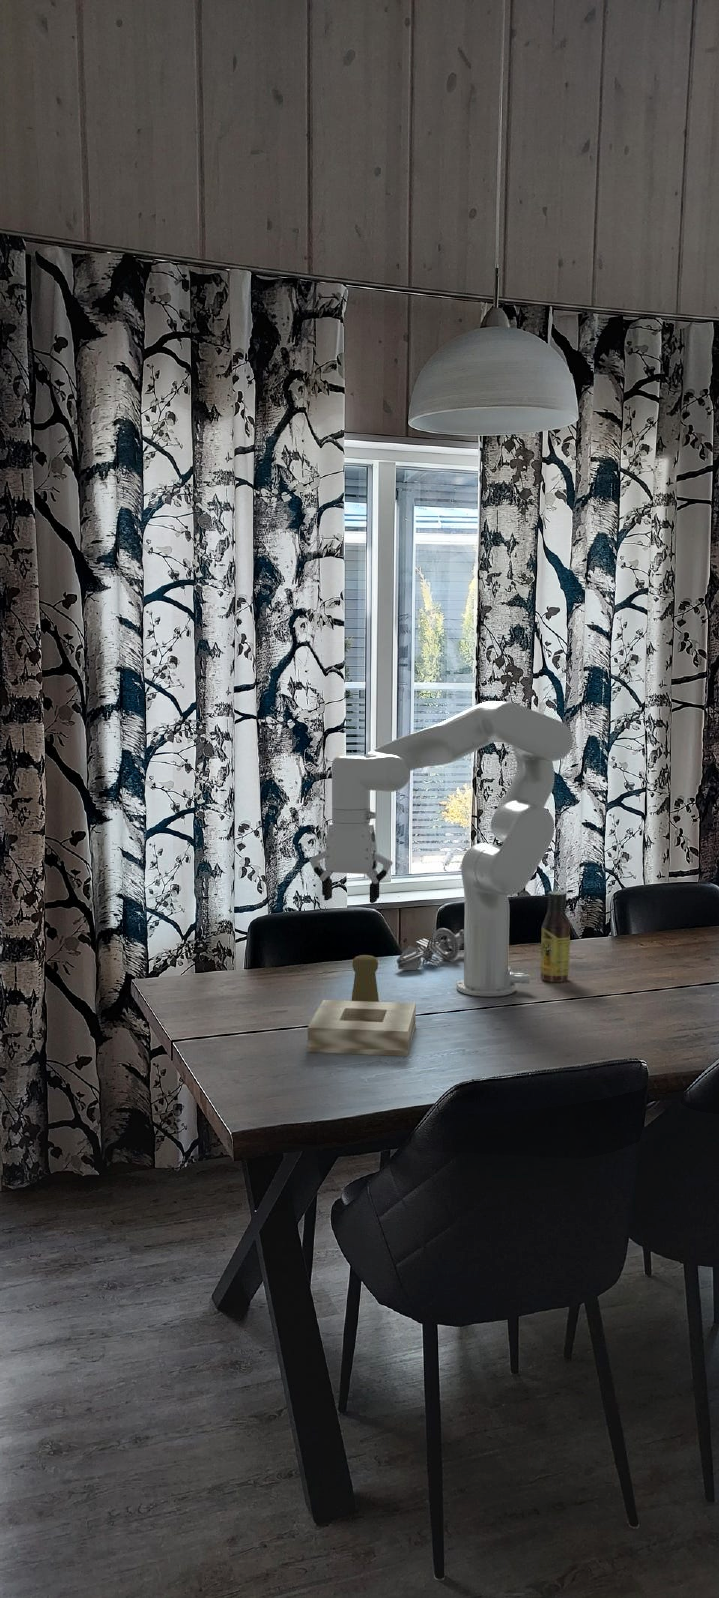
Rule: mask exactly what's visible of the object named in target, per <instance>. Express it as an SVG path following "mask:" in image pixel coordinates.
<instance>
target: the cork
mask: <svg viewBox="0 0 719 1598" xmlns="http://www.w3.org/2000/svg"><path fill="white" fill-rule="evenodd" d="M351 963H352V970H353V971H354V980H353V984H352V985H353V987H352V993H351V999H350V1001H368V1002H380V1000H379V993H378V992H379V991H378V985H377V977H376V971H377V970H378V969H379V963H378V959H377V958H376V956H373V955H369V954H360V955H358V956H355V957H354V958H353V959H352V962H351Z"/></svg>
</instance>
